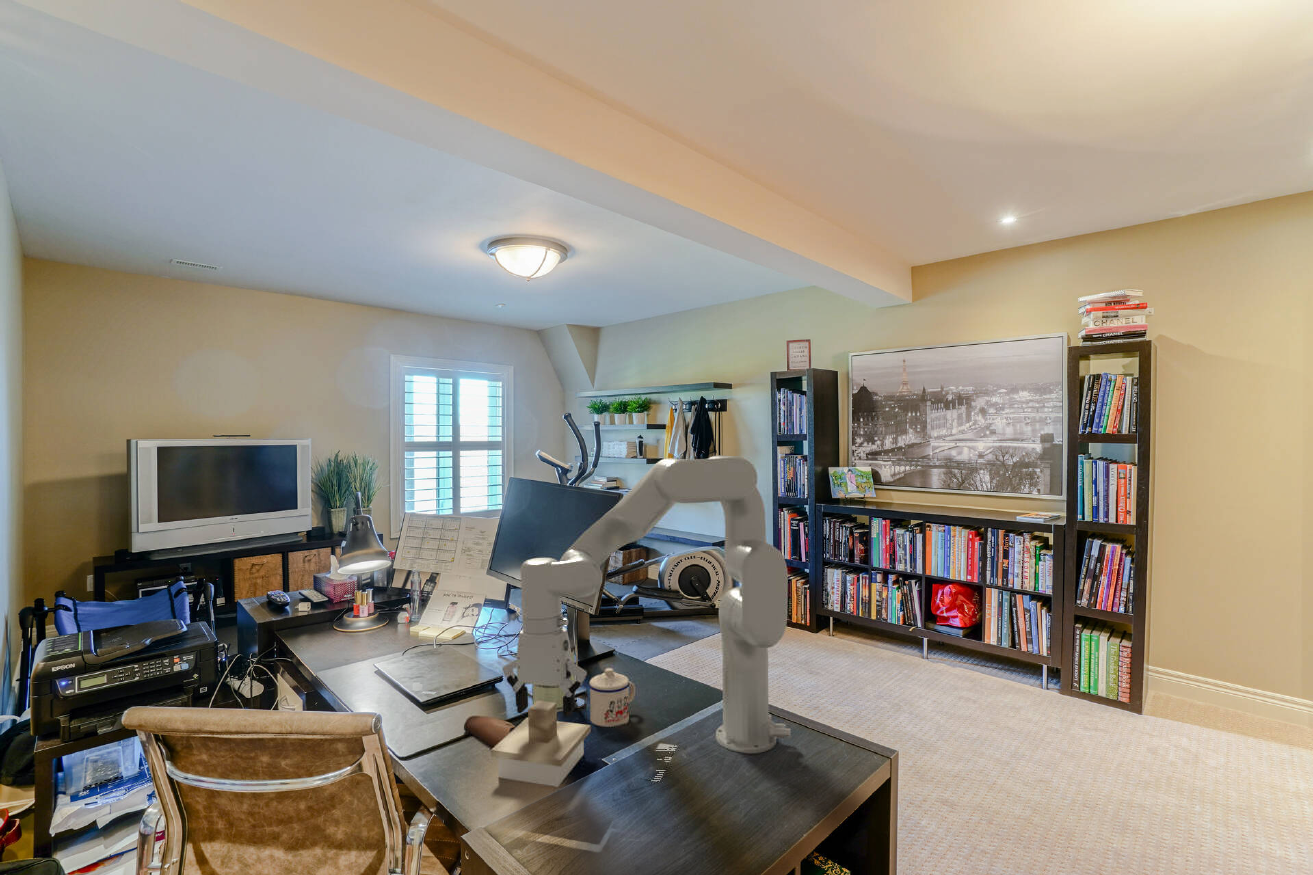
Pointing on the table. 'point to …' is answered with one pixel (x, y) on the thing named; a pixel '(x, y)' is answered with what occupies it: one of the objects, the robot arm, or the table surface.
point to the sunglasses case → (488, 729)
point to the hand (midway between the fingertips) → (545, 712)
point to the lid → (542, 737)
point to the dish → (538, 769)
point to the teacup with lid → (610, 698)
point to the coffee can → (552, 689)
